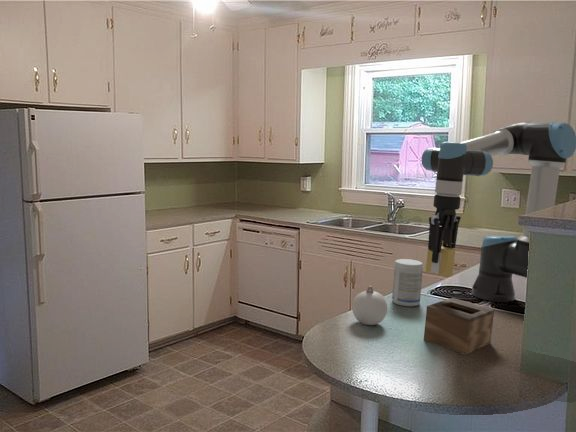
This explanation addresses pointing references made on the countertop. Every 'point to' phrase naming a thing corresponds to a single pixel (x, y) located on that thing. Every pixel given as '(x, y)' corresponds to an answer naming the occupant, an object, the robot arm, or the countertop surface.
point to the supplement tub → (407, 282)
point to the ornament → (369, 307)
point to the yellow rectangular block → (443, 261)
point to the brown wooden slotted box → (458, 325)
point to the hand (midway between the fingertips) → (439, 272)
